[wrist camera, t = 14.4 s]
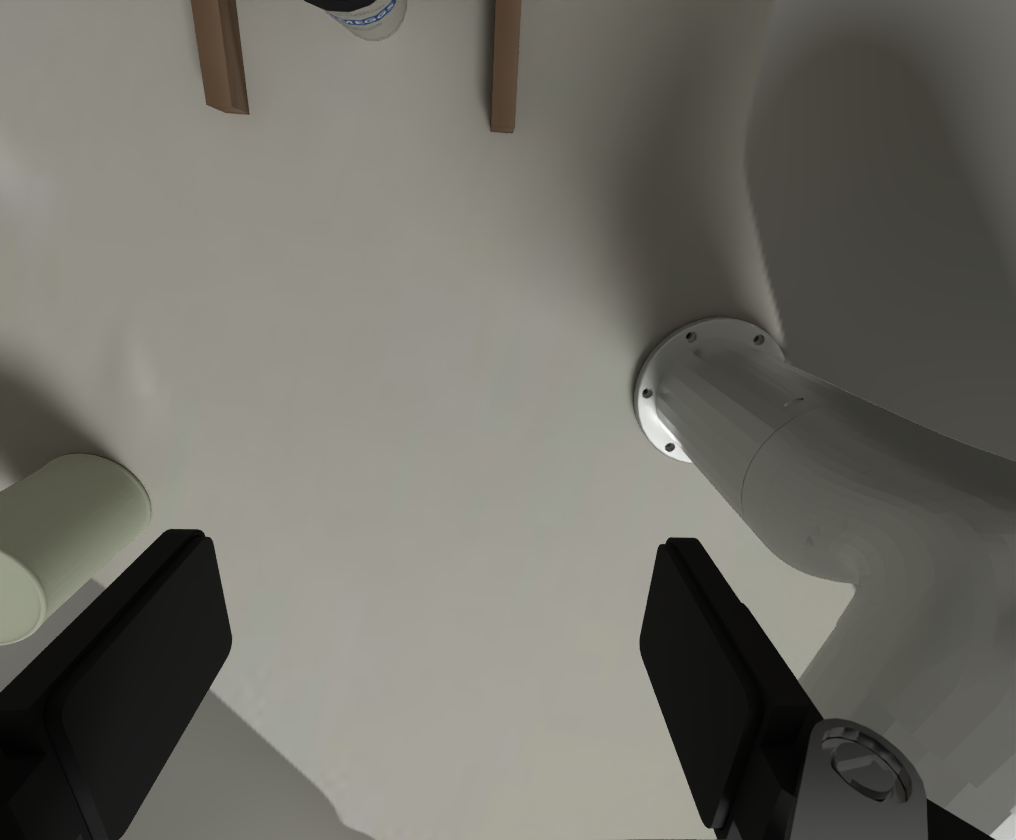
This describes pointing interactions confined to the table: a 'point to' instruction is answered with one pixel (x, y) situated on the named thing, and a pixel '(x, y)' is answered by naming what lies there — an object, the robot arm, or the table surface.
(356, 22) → the coffee cup
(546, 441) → the table surface
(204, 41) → the bay
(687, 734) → the robot arm
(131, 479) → the can
